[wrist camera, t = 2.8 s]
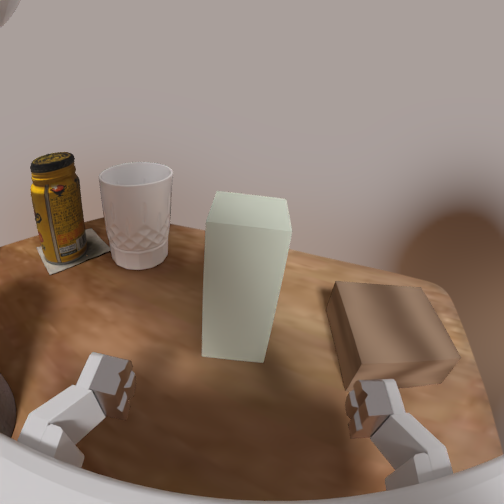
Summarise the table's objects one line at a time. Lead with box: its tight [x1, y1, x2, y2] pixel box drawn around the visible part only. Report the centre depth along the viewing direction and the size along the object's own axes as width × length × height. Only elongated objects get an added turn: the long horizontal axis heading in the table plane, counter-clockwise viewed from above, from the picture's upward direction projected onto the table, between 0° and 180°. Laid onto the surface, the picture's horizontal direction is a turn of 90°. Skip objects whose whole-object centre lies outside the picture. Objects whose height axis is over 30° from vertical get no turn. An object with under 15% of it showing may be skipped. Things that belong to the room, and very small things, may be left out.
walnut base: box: [326, 281, 461, 391], centre depth 26 cm, size 10×10×4 cm
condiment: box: [30, 152, 111, 275], centre depth 31 cm, size 7×8×12 cm
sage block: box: [202, 191, 292, 363], centre depth 23 cm, size 5×5×12 cm
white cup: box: [99, 162, 173, 270], centre depth 33 cm, size 8×8×10 cm
